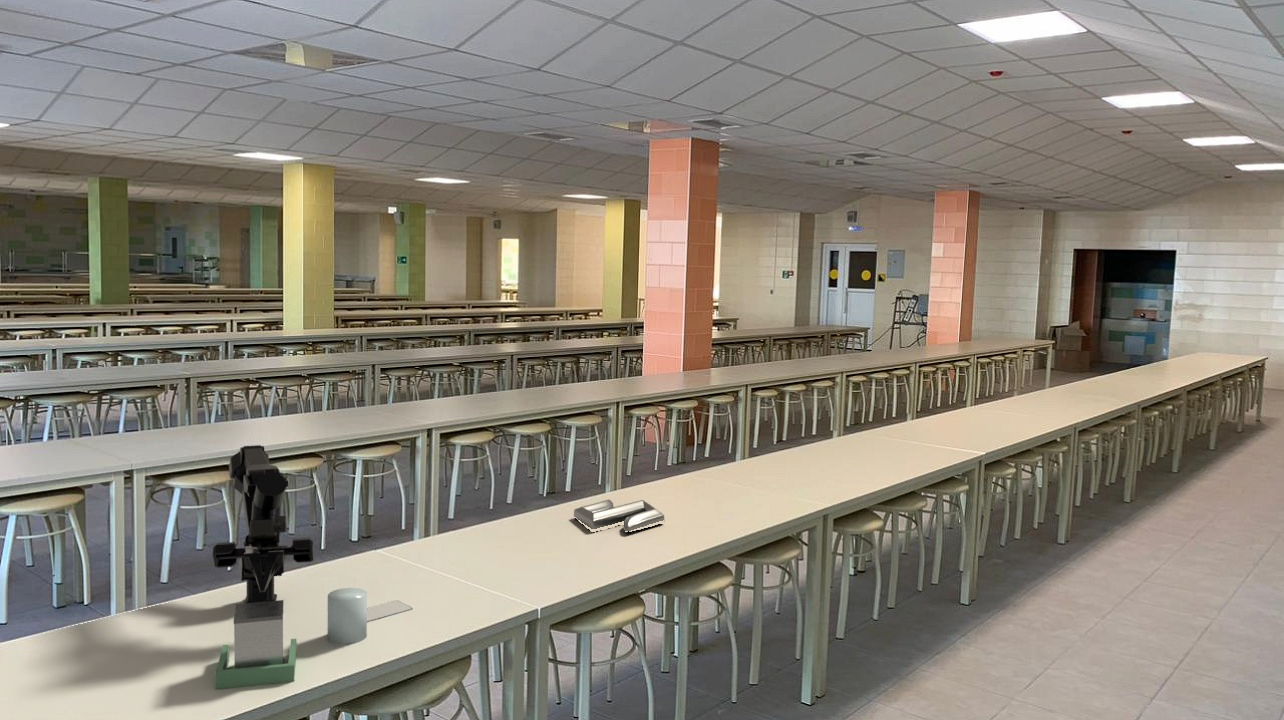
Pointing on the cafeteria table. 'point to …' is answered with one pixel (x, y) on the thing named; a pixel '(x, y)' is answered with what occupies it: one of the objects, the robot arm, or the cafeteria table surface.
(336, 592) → the round-topped grey cylinder
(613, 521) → the emblem
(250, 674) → the bay
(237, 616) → the tin
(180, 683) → the cafeteria table surface
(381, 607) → the smartphone
